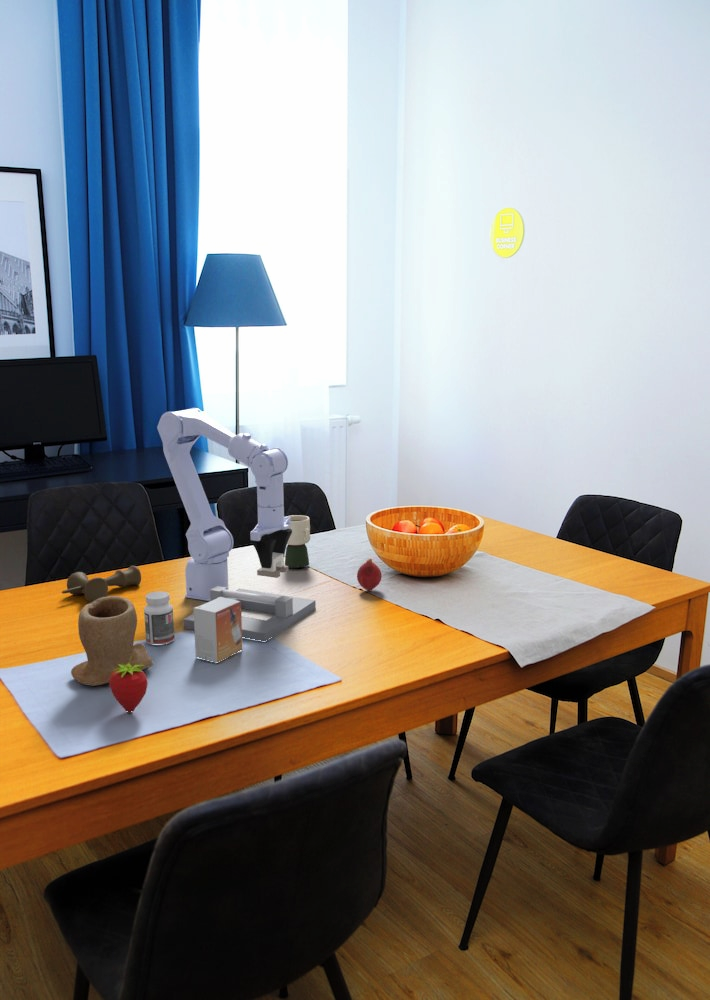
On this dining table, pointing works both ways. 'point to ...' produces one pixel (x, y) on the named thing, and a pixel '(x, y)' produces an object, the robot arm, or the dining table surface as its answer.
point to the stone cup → (108, 640)
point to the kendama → (101, 583)
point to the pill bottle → (158, 618)
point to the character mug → (298, 542)
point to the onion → (369, 575)
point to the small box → (218, 629)
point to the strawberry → (128, 685)
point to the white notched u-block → (274, 567)
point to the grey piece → (258, 629)
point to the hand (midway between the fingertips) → (272, 564)
